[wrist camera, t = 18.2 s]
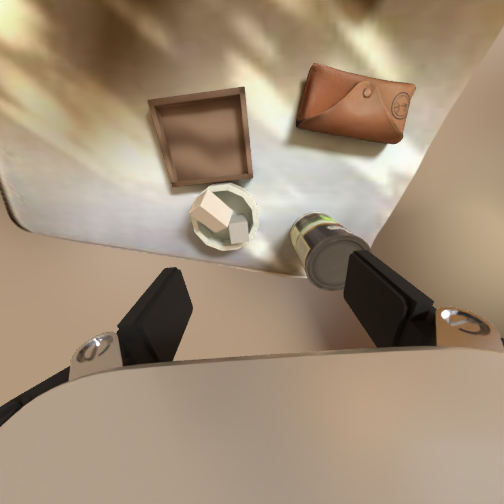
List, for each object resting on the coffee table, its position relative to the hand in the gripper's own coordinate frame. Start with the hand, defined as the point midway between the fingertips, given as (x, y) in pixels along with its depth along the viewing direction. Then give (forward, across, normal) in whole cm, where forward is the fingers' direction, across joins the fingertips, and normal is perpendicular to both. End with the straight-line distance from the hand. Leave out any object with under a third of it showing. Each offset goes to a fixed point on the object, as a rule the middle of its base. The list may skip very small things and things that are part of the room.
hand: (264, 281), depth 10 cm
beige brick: (+25, +6, +4) cm, 26 cm away
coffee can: (+31, -12, +10) cm, 34 cm away
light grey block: (+29, +5, +6) cm, 30 cm away
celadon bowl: (+30, +6, +4) cm, 31 cm away
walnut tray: (+30, +8, -10) cm, 33 cm away
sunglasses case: (+31, -18, -14) cm, 39 cm away
